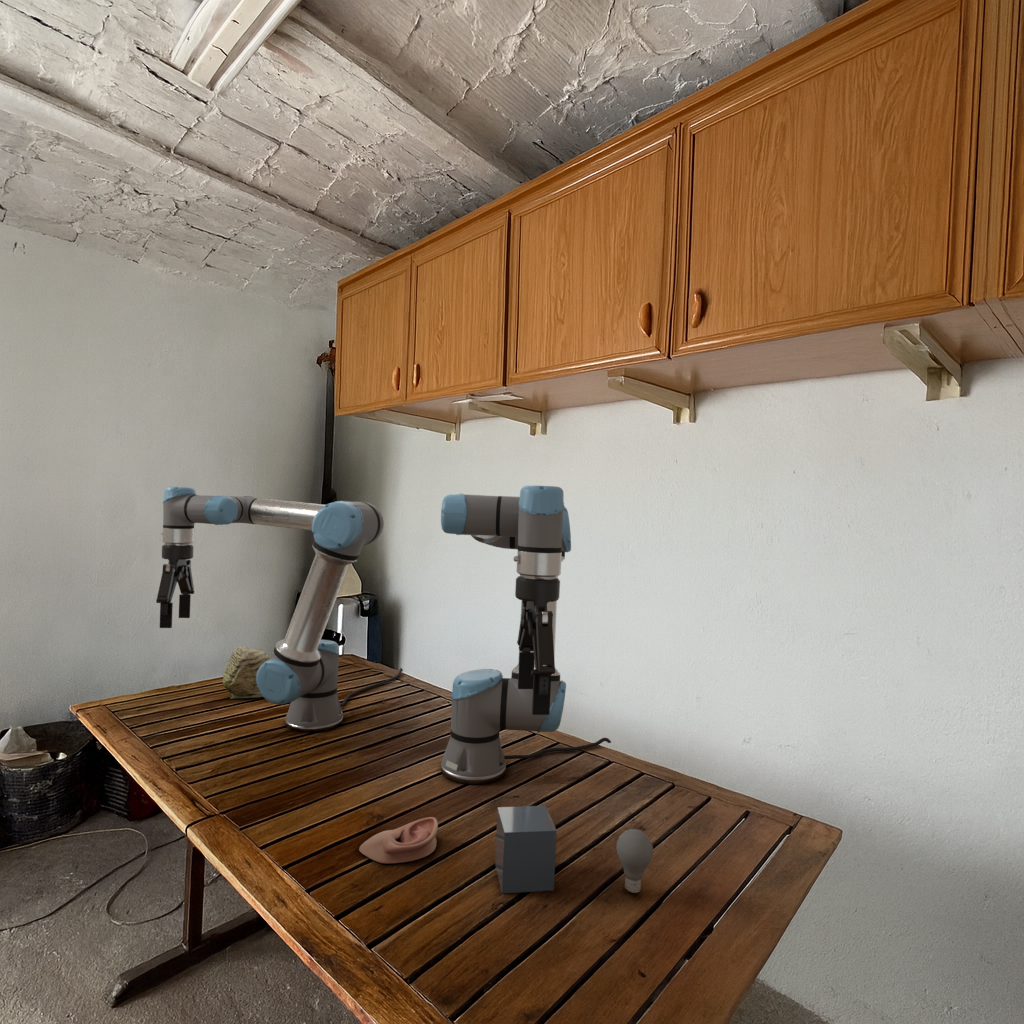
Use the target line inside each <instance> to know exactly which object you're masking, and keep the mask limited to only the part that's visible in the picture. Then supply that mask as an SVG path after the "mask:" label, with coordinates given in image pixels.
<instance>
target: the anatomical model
mask: <svg viewBox="0 0 1024 1024" xmlns="http://www.w3.org/2000/svg"><path fill="white" fill-rule="evenodd" d="M438 830H439V822H438V819H437V818H436V817H434V816H428V817H423V818H419V819H417V820H414V821H410V822H409V823H407V824H404V825H401V826H398V827H397V828H395V829H388V830H383V831H381V832H378V833H376V834H374V835H372V836H371V837H369V838H368V839H366V840H365V841H364V842H363V843H362V844H361V845H360V846H359V848H358V850H359V852H360V853H361V854H362V855H364V857H366V858H368V859H369V860H372V861H374V862H377V863H380V864H399V863H400V864H401V863H409V862H413V861H417V860H420V859H422V858H426V857H427V856H429V855H431V854H432V853H433V852H435V850H436V847H437V837H436V836H437V834H438Z"/></svg>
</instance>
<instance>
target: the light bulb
mask: <svg viewBox="0 0 1024 1024" xmlns="http://www.w3.org/2000/svg"><path fill="white" fill-rule="evenodd" d="M615 849H616V854H617V857H618V859H619V861H620V863H621V865H622V867H623V873H624V874H623V875H624V876H625V878H624V888H625V890H627V891H628V892H630V893H634V894H635V893H639V892H640V891H641V889H642V887H641V886H642V879H643V877H644V875H645V871H646V868H647V867H648V866H649V864H650V863H651V861H652V859H653V855H654V847H653V843H652V841H651V838H649V836H648V835H647V834H646V833H645V832H643V831H642V830H641V829H636V828H629V829H627V830H625V831H623V832H622V833H621V834H620V835H619V837H618V839H617V841H616V847H615Z"/></svg>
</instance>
